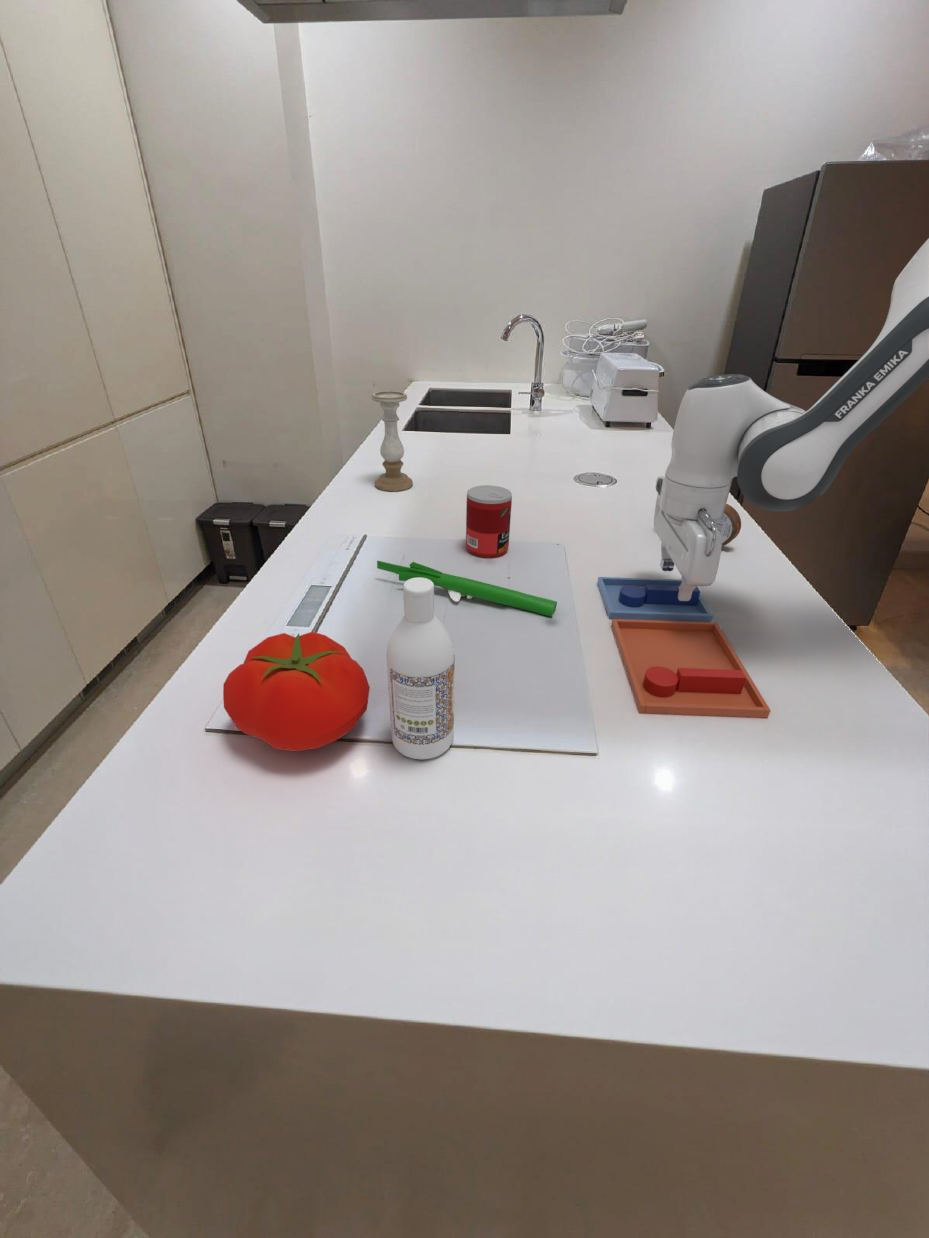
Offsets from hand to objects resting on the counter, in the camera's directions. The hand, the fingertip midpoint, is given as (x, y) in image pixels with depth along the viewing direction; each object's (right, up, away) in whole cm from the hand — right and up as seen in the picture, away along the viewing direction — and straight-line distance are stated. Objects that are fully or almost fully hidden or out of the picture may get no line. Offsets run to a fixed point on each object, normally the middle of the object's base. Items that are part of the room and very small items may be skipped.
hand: (674, 583), depth 89 cm
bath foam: (-37, -19, -24) cm, 48 cm away
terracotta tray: (-4, -12, -12) cm, 18 cm away
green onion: (-33, -2, +3) cm, 33 cm away
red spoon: (-5, -14, -16) cm, 22 cm away
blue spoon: (-3, -3, +2) cm, 5 cm away
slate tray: (-3, -3, +2) cm, 5 cm away
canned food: (-28, +7, +18) cm, 34 cm away
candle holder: (-49, +26, +46) cm, 72 cm away
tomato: (-51, -18, -22) cm, 58 cm away
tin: (+12, +10, +23) cm, 28 cm away
